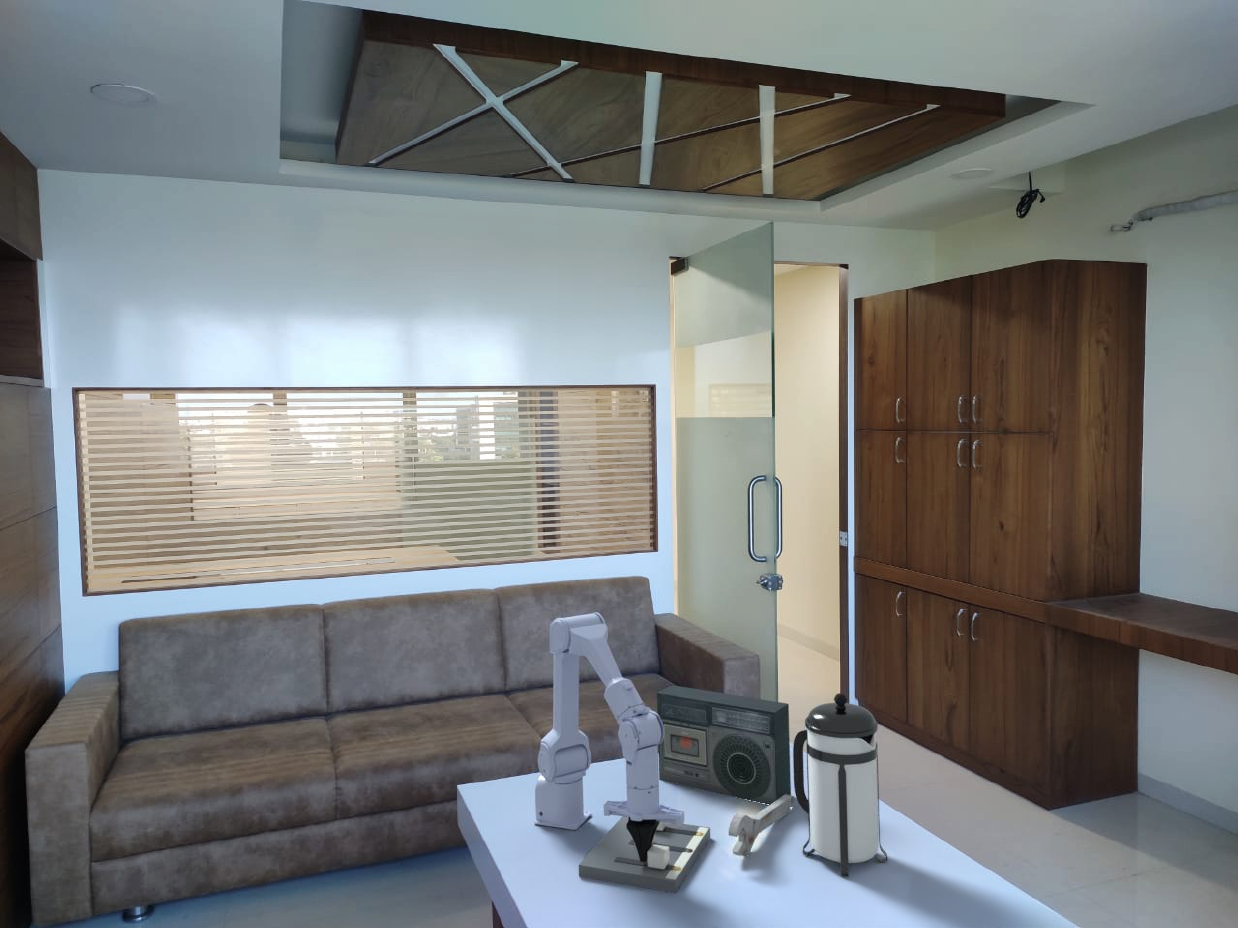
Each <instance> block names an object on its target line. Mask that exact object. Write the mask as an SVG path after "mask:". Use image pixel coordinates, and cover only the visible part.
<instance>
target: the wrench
mask: <svg viewBox="0 0 1238 928" xmlns="http://www.w3.org/2000/svg"><path fill="white" fill-rule="evenodd" d="M795 801H796V800H795V796H794V795H792V794H791V795H787V794H785V795H784V796H782V797H781V798H779V799H778V800H776V801H775V802H773V803H772V804H771V805H769V806H768V805H767V806H766V807H765V808H763V809H762V810H761V811H759V812H757V813H756V814H755V815H753V816H752V817H751V816H749V815H747V814H743V813H739V812H738V813H737V812H736V814H734V815H733V817H732V819H731V820H730V824H729V827H728V836H730V837H734V838H737V837H738V841H736V843H735V844H734V846H733V848H732V854H733V855H735V856H739V857H742V856H747V855H751V851H752V848H753V846H754V843H755V842H756V841H755V840H756V839H757V838H758V836H759V834H761V833H762V832H763V831H765V830H766V829H767V828H769V827H770V826H772V825H773V824H775V823H777V822H778V821H779V820H780V819H781V818H783V817H784V816H786V815H787V814H789V813H790V812H791V811H792V810H791V809H790V807H794V808H795V803H796V802H795ZM790 810H791V811H790Z"/></svg>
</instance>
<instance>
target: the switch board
mask: <svg viewBox="0 0 1238 928" xmlns="http://www.w3.org/2000/svg"><path fill="white" fill-rule="evenodd" d="M620 817H621V818H619V820H617V822H616V823H615V824H614V825H613V826H612V827H611V829H609V831H608V832H607V833H606V834H605V835H604V836H603V837H602V838H601V840H600V841H599V842H598V843H596V845H595V846H594V847H593V848H592V850H590V851H589V853H588V854H587V855H586V856H585V857H584V859H582V860H581V862H579V864H578V877H583V878H588V879H593V880H594V879H595V880H599V881H606V882H610V883H616V884H623V885H629V886H634V887H638V888H639V887H640V888H644V889H645V888H646V889H650V888H651V890H656V889H657V890H656V891H662V890H664V891H663V892H668V891H669V892H668V893H673V892H674V893H675V894H676V892H677V891H678V890H679V889H680V887H681V885H682V884H683V882H684V880H685V879H686V878H687V875H688V874H689V873H690V871H691V869H692V868H693V866H694V865H695V863H696V862H697V860H698V858H699V857H700V855H701V853H702V852H703V850H704V849H705V848H706V845H707V844H708V843H709V841H710V839H711V828H710V827H709V826H700V825H694V824H687V823H683V824H682V826H676V825H675V824H673V823H667V825H666V827H665V828H664V829H663V831H660V830H656V832H655V841H654V842H653V844H654V845H661V846H667V847H669V855H670V862H669V863H668V865H667V866H666V867H665V869H659V868H653V867H648V860H647V862H640V859H639V854H638V851H637V848H636V845H635V844H634V840H633V838H632V836H631V834H630V833H629V831H628V830H627V827H626V824H627V823H628V820H629V817H624V816H620ZM653 844H652V845H653ZM652 845H651V847H652ZM679 886H680V887H679Z"/></svg>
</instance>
